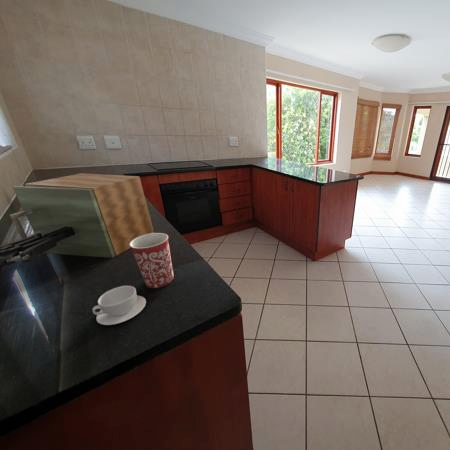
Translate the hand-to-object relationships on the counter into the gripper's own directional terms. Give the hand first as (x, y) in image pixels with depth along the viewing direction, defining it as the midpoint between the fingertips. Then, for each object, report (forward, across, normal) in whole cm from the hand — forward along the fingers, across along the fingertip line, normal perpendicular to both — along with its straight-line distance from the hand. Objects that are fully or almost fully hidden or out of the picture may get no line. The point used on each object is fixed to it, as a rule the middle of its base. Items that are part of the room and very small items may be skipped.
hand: (70, 230), depth 77 cm
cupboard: (+12, -2, -10) cm, 15 cm away
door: (-2, -1, -10) cm, 10 cm away
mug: (-6, +35, -10) cm, 37 cm away
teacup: (-20, +35, -10) cm, 42 cm away
